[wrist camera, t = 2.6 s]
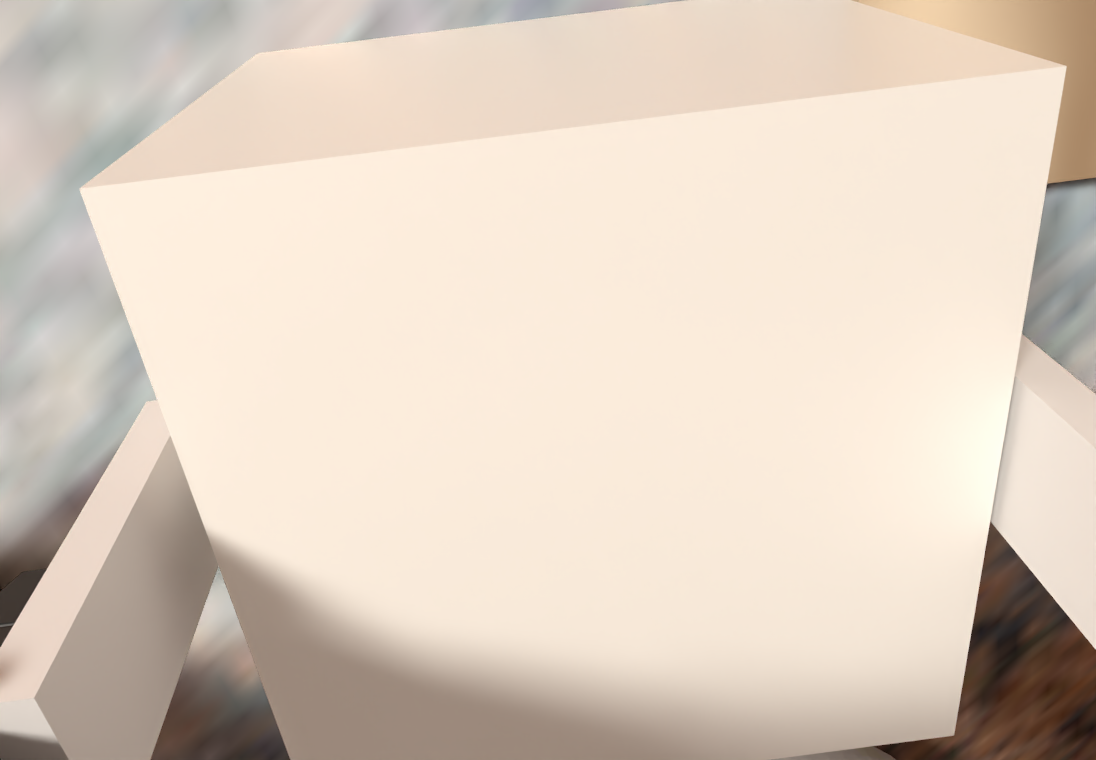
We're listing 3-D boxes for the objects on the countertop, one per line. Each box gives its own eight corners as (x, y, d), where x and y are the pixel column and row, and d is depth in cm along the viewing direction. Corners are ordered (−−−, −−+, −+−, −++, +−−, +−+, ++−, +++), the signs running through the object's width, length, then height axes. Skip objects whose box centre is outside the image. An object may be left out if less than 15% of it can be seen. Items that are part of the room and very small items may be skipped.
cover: (804, -15, 20) (1066, 65, 11) (790, 443, 25) (954, 735, 17) (257, 53, 20) (79, 188, 11) (369, 497, 25) (312, 819, 17)
